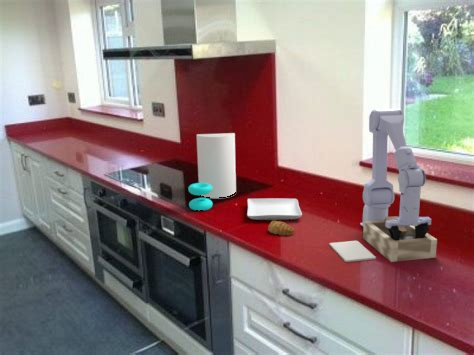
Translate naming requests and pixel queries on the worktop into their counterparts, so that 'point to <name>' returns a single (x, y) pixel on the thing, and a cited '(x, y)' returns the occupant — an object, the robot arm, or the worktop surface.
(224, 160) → the cylinder
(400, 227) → the walnut bar
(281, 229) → the pastry
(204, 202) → the donuts
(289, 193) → the worktop surface
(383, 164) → the robot arm
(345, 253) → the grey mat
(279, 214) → the salad plate
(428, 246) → the pocket board
